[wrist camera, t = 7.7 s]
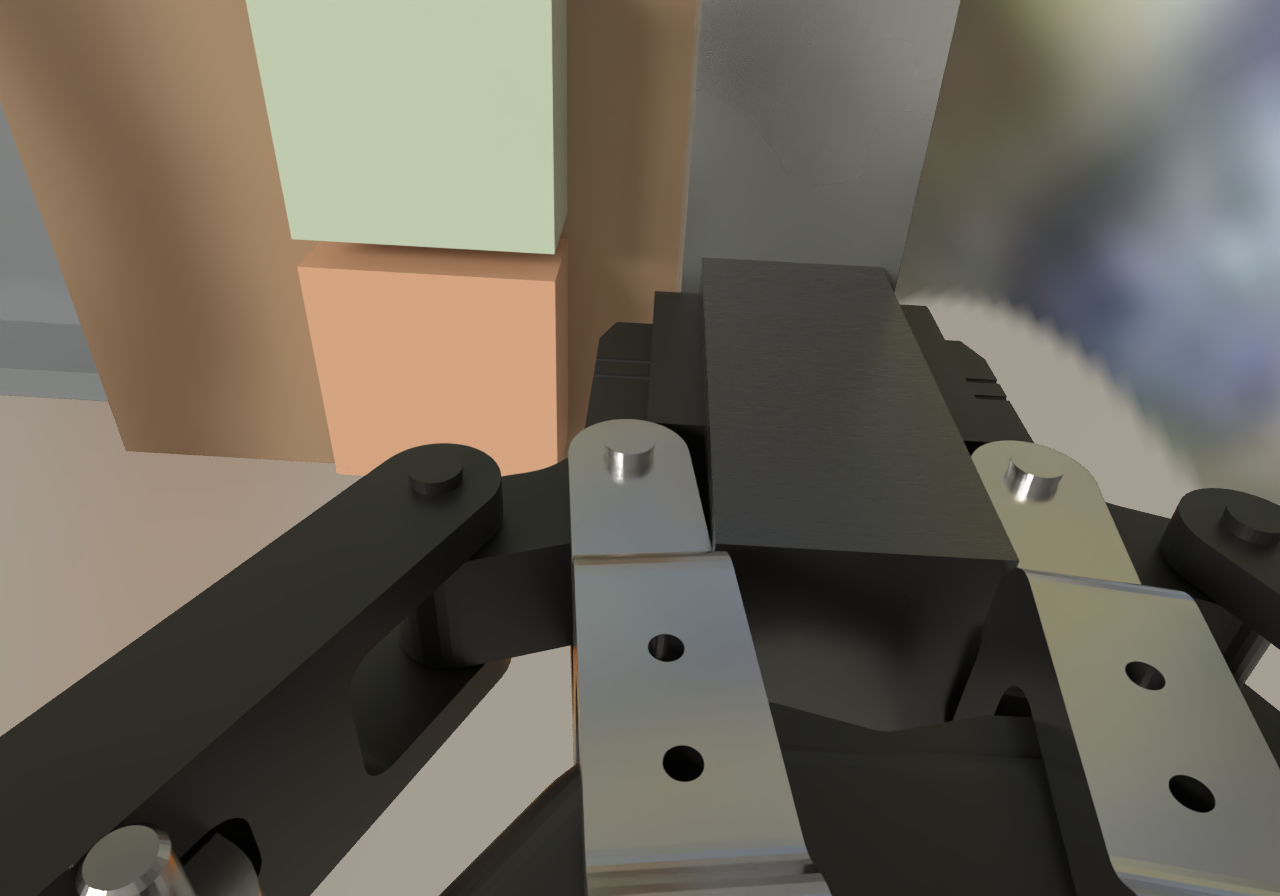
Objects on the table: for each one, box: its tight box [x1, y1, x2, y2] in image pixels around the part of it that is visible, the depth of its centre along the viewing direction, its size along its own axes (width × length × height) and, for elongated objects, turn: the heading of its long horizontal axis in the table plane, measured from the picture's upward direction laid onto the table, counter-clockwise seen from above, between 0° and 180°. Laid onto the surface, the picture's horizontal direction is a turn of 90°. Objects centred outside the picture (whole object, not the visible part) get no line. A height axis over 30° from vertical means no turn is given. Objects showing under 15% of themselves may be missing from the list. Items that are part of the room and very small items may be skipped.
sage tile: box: [246, 0, 567, 254], centre depth 14 cm, size 4×4×2 cm
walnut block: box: [0, 0, 696, 463], centre depth 19 cm, size 16×12×5 cm
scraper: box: [676, 0, 1020, 732], centre depth 12 cm, size 3×12×9 cm, turn 178°
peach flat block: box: [297, 238, 568, 476], centre depth 17 cm, size 4×4×2 cm
